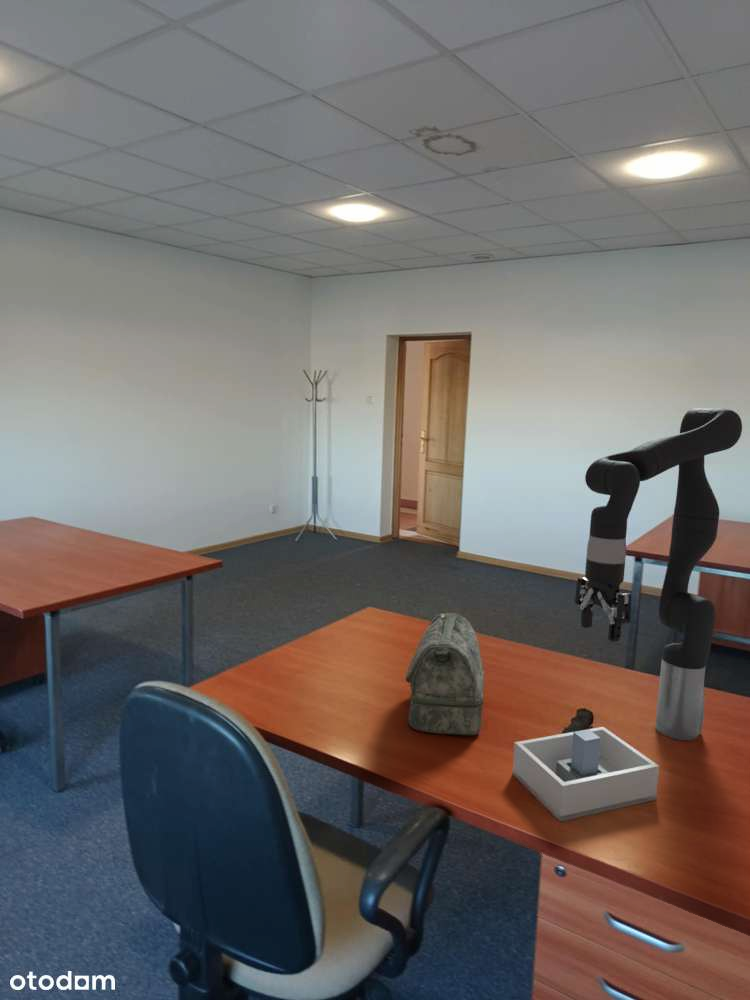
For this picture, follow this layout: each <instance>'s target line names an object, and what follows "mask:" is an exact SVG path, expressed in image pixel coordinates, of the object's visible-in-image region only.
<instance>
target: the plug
mask: <svg viewBox="0 0 750 1000" xmlns="http://www.w3.org/2000/svg"><path fill="white" fill-rule="evenodd" d="M589 729H590V728H586V730H581V731H576V732H573V744H572V757H571V769H573V770H574V771H575V772H576V773H577V774H578V775H580V776H581V777H583V776H588V775H593V774H597V773H598V761H599V750H600V737H599V736H597V735H596V734H594V733H593V732H592V731H590V730H589Z"/></svg>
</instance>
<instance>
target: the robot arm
mask: <svg viewBox="0 0 750 1000" xmlns="http://www.w3.org/2000/svg"><path fill="white" fill-rule="evenodd" d="M742 431H743V422H742V419H741V416H740V414H738V413H737V412H736V411H734V410H732V409H729V408H722V407H721V408H720V407H719V408H718V407H717V408H716V407H715V408H714V407H713V408H712V407H696V408H695V407H693V408H690V409H689V410H688V411H686V412H685V414H684V415H683V417H682V420H681V423H680V428H679V433H676V434H672V435H666V436H663V437H658V438H655V439H652V440H650V441H647V442H645V443H642V444H641V445H639V446H636V447H634V448H633V449H630V450H628V451H624V452H619V453H614V454H611V455H607V456H603V457H601V458H598V459H596V460H595V461H593V462H592V463H591V464H590V465H589V466H588V468H587V469H586V472H585V476H584V481H585V484H586V486H587V487H588V489H590V490H591V491H592V492H594V493H596V494H598V495H599V494H600V495H605V496H609V499H608V501H607V503H606V505H600V506H596V507H595V508H593V510H592V511H591V514H590V525H589V537H588V541H587V546H586V558H585V572H584V577H578V578H577V582H576V589H575V590H576V591H575V597H574V599H575V600H574V603H575V605H579V608H580V610H581V616H580V617H581V619H580V623H581V627H582V628H584V629H587V628H591V627H592V625H593V617H594V616H593V613H594V610H593V608H594V607H595V606H596V605H597V606H599V608H602V609H603V611H604V613H605V614H606V615H607V617H608V619H609V623H608V624H609V626H608V636H607V637H608V638H607V640H608V641H609V642H612V643H614V642H619V640H621V635H622V625H624V624H629V623H631V618H632V617H631V616H632V598H633V597H632V594H631V592H630V593H629V592H626V593H623V592H621V589H620V585H621V584H622V583H623V582H624V579H625V568H626V567H625V566H626V556H627V540H626V539H627V531H628V518H629V515H630V513H631V511H632V508H633V505H634V502H635V501H636V500H635V499H636V497H637V495H638V492H639V488H640V485H641V484H640V483H641V482H644V481H648V480H650V479H653V478H654V477H656V476H659V475H660V474H663V473H665V472H666V471H668V470H671V469H672V468H674V467H677V466H678V474H677V476H678V477H677V487H676V488H677V489H676V496H675V505H674V509H673V517H672V525H671V526H672V527H671V538H670V546H669V553H668V559H667V561H668V562H667V565H666V571H665V576H664V580H663V583H662V588H661V593H660V597H659V602H658V612H657V613H658V619H659V621H660V623H661V625H663V626H664V627H666V628H668V629H671V630H672V631H673V630H674V631H675V632H678V633H681V634H683V638H682V642H672V643H668V644H667V643H666V645H664V646H663V648H662V653H661V665H660V673H659V683H658V685H659V686H658V694H657V695H658V696H657V704H656V715H655V725H654V726H655V730H656V731H657V732H658V733H660V734H661V735H663V736H665V737H668V738H669V739H674V740H678V741H685V740H688V741H694V740H696V739H698V738H699V734H700V735H702V734H703V723H704V714H705V704H706V695H705V694H704V684H705V676H706V674H705V673H706V666H707V660H708V657H709V656H710V652H711V650H712V649H711V647H712V641H713V635H714V632H715V631H714V629H715V625H716V617H717V616H716V614H717V613H716V608H715V607H716V606H715V605H714V603H713V601H711V600H710V599H708V598H706V597H703V596H699V595H697V594H694V593H689V591H688V590H689V584H690V578H691V576H692V572H693V570H694V568H696V566H697V564H698V563H699V562H700V561H701V559H703V557H704V556H705V555H706V554H707V553H708V552H709V550H710V549H711V548H712V546H714V544H715V542H716V539H717V536H718V528H719V519H720V507H719V503H718V500H717V498H716V496H715V493H714V491H713V489H712V487H711V485H710V482H709V480H708V477H707V475H706V470H705V456H707V455H711V454H715V453H719V452H723V451H727V450H729V449H731V448H732V447H734V446H735V445H736V444H737V443H738V441H739V440H740V438H741V436H742ZM613 606H614V607H613Z"/></svg>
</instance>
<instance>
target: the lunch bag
mask: <svg viewBox="0 0 750 1000" xmlns="http://www.w3.org/2000/svg"><path fill="white" fill-rule="evenodd" d="M438 614H439V615H435V616H434V618H433V619H432V620H431V622H430V623H429V624H428V627H427V629H426V630H425V631H424V633H423V635H422V637H421V638H420V640H419V643H418V644H417V647H416V649H415V652H414V654H413V657H412V659H411V661H410V663H409V666H408V670H407V671H406V677H405V681H406V683H409V684H410V690H411V693H410V694H411V695H410V707H409V712H408V725H409V727H411V728H413V729H414V730H415V731H416V730H417V731H420V732H421V733H430V734H441V735H456V736H457V735H458V736H475V735H478V734H480V731H481V729H482V715H483V713H482V712H483V704H484V685H485V676H484V675H485V671H484V667H483V663H482V661H483V660H482V652H481V649H480V644H479V640H478V636H477V635H476V631H475V630H474V628H473V626H472V625H471V623H470V621H468V619H467V618H466V617H464V616H462V615H461V614H458V613H454V612H448V613H443V612H440V613H438Z"/></svg>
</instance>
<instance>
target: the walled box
mask: <svg viewBox="0 0 750 1000" xmlns="http://www.w3.org/2000/svg"><path fill="white" fill-rule="evenodd" d="M588 729H589V730H590V731H592V732H593V733H594V734H596V735H597V736H599V737H600V750H599V761H598V773H597V774H593V775H588V776H583V777H581V776H580V775H578V774H577V773H576V772H575V771H574V770H573V769H571V757H572V744H573V732H570V733H565V734H562V733H560V734H553V735H549V736H544V737H537V738H532V739H526V740H519V741H514V747H513V748H514V749H513V764H512V776H513V777H515V778H516V780H518V781H519V782H520V783H521V785H523V786H524V787H525V788H526V789H527V790H528V791H529V792H530V793H531V794H532V795H533V796H534V797H535V798H536V799H537V800H538V801H539V802H540V803H541V804H542V805H543V807H545V808H546V809H547V810H548V811H549V812H550V813H551V814H552V815H553V816H554V818H555V819H557V820H558V821H559V822H565V821H568V820H569V821H570V820H574V819H578V818H582V817H587V816H592V815H596V814H600V813H605V812H608V811H612V810H616V809H622V808H625V807H629V806H635V805H638V804H642V803H646V802H651V801H656V800H657V792H658V783H659V782H658V780H659V770H660V766H659V764H657V763H656V762H654V761H653V760H651V759H650V758H649V757H647V756H646V755H644V754H643V753H642V752H640V751H639V750H637V749H636V748H634V747H633V746H631V745H630V744H628V743H627V742H626V741H624V740H623V739H622V738H620V737H619V736H617V735H616V734H615V733H613V732H611V731H610V730H609V729H607V728H606V727H604V726H599V727H594V728H588Z"/></svg>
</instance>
